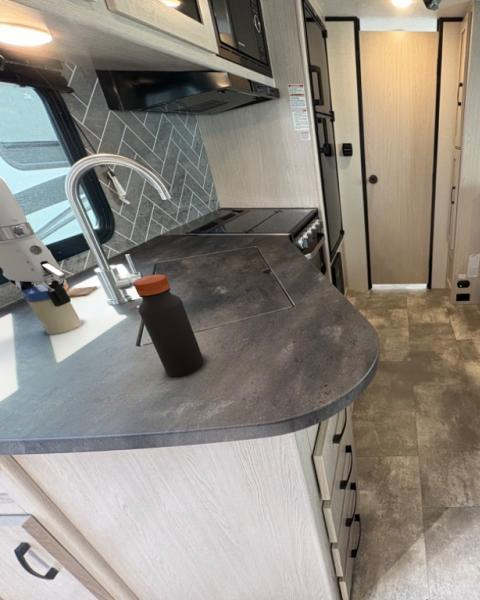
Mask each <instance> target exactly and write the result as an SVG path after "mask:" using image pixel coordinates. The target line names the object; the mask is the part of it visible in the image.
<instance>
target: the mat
mask: <svg viewBox="0 0 480 600" xmlns="http://www.w3.org/2000/svg"><path fill="white" fill-rule="evenodd" d="M96 289H98V286H86V287H85V286H84V287H78V288H73V289H72V290H70V291H68V292H66V293H67V294H68V296H69V298H76V297H77V298H78V297H83V296H84V297H85V296H87V295H88V296H89V294H91V293H92V292H94V291H95V290H96Z"/></svg>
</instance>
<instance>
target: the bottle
mask: <svg viewBox="0 0 480 600" xmlns="http://www.w3.org/2000/svg"><path fill="white" fill-rule="evenodd" d="M132 285H133V286H134V289H135V291H136V293H137V295H138V297H140V298H141V299H142V301H141V302H140V304H139V306H138V307H137V311H138V313H139V316H140V318H141V320H142V322H143V324H144V327H145V329H146V331H147V334H148V336H149V337H150V341H151V342H152V344H153V347H154V349H155V351H156V353H157V355H158V357H159V360H160V363H161V365H162V366H163V369H164V371H165V373H166V374H167V376H169V377H176V378H177V377H183V376H187V375H190V374H192V373H193V372H195V371H198V369H200V368H201V367H202V365H203V364H204V360H205V359H204V357H203V354H202V351H201V348H200V346H199V343H198V340H197V338H196V335H195V333H194V330H193V327H192V325H191V322H190V319H189V316H188V314H187V312H186V309H185V306H184V303H183V300H182V299H181V297H179V296H177V295H175V294H173V293H171V285H170V283H169V280H168V278H167V275H165V274H162V273H161V274H150V275H146V276H142V277H139V278H137V279H136V280H134V281H133V282H132Z"/></svg>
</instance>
